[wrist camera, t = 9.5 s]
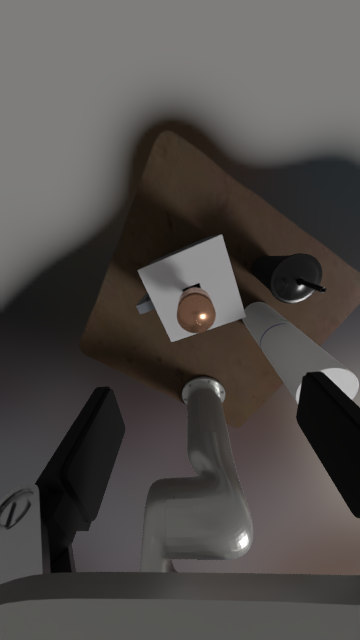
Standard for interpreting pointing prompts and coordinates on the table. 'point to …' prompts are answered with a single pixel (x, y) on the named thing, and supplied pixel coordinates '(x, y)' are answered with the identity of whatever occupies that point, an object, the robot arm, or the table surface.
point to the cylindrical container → (294, 351)
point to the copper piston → (195, 310)
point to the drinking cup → (289, 276)
